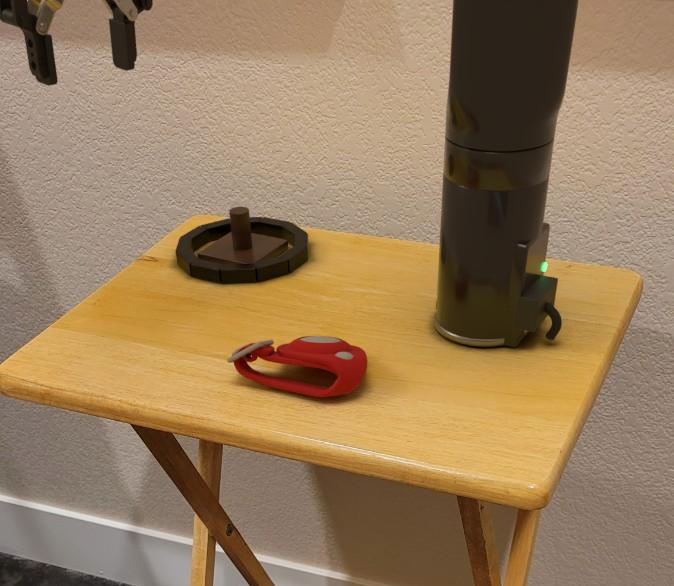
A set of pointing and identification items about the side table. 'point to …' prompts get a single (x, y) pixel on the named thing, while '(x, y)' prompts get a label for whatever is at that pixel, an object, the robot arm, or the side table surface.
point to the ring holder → (242, 243)
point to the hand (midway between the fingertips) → (87, 75)
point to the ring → (242, 271)
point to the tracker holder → (306, 363)
